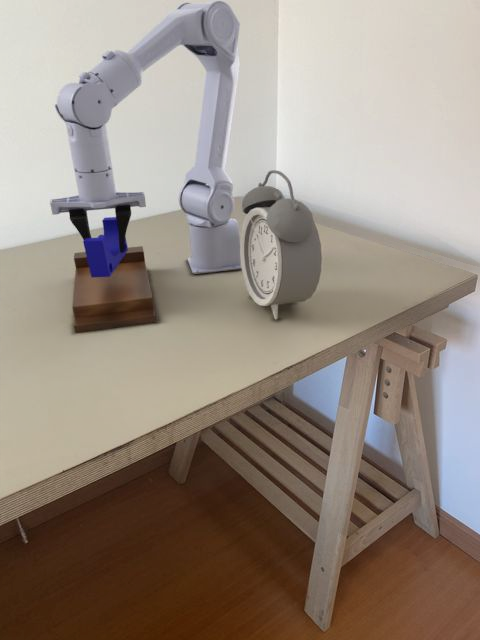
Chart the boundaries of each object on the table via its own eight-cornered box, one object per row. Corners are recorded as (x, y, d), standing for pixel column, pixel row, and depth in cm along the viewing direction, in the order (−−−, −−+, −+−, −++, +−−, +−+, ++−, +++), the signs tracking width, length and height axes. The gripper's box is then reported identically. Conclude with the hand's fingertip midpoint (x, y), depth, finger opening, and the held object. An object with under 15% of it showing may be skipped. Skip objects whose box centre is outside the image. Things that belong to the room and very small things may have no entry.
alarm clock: (237, 291, 99) (231, 163, 88) (281, 282, 102) (281, 158, 91) (275, 331, 86) (274, 187, 75) (325, 320, 89) (331, 180, 78)
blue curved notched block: (103, 251, 100) (96, 218, 97) (128, 249, 100) (121, 216, 97) (82, 277, 90) (73, 242, 86) (109, 276, 89) (102, 240, 86)
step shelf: (145, 269, 109) (142, 246, 106) (156, 322, 89) (152, 294, 87) (79, 276, 106) (74, 252, 104) (75, 332, 87) (69, 304, 84)
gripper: (42, 178, 82) (60, 265, 89) (142, 171, 85) (152, 255, 92) (45, 167, 88) (62, 250, 95) (139, 161, 91) (149, 241, 98)
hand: (107, 252), depth 94 cm, fingers closed on blue curved notched block, 4 cm apart
